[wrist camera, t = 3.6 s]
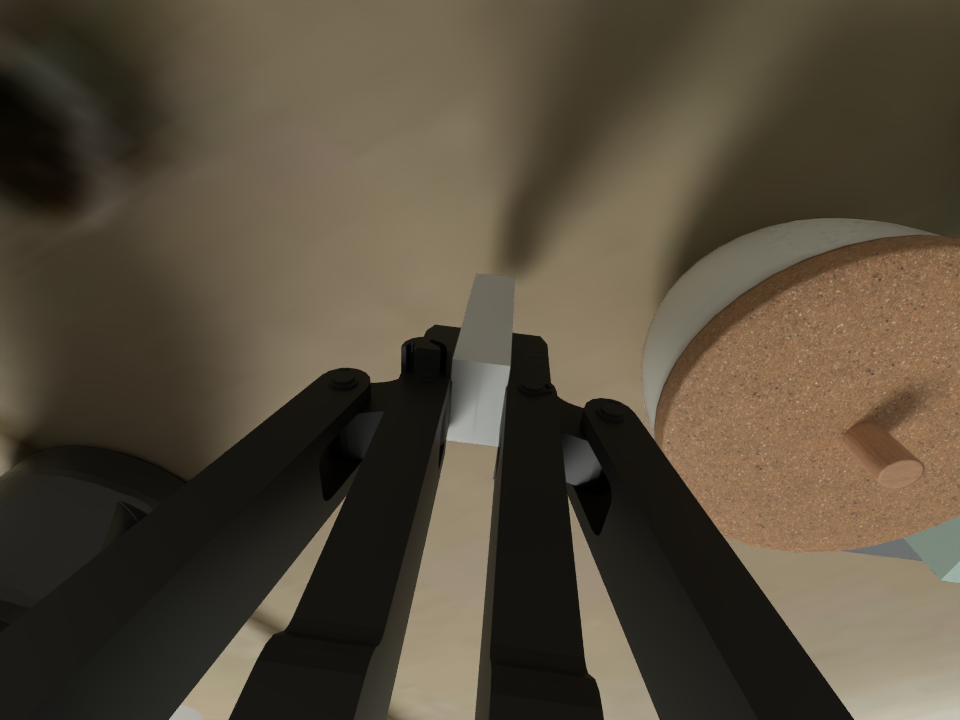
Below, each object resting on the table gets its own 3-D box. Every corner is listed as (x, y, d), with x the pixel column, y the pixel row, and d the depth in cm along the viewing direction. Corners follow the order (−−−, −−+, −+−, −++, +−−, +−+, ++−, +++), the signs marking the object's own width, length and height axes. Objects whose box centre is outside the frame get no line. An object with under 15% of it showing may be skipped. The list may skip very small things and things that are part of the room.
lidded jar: (590, 239, 18) (648, 351, 10) (895, 143, 16) (1293, 189, 8) (636, 437, 23) (700, 620, 15) (875, 387, 21) (1105, 574, 12)
